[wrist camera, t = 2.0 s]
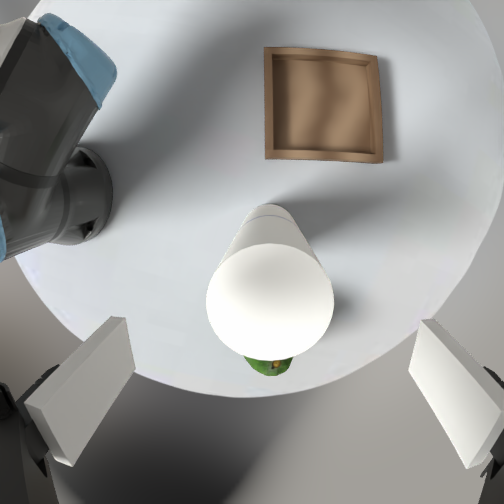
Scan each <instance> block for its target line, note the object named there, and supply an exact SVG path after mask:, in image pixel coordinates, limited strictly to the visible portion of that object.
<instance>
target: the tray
mask: <svg viewBox="0 0 504 504" xmlns="http://www.w3.org/2000/svg"><path fill="white" fill-rule="evenodd" d="M264 88H265V159H286V160H321V161H342V162H358V163H371V164H378V163H383V129H382V108H381V93H380V81H379V70H378V61H377V56H373V55H367V54H360V53H352V52H344V51H335V50H324V49H310V48H288V47H264Z"/></svg>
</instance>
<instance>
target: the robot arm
mask: <svg viewBox="0 0 504 504" xmlns="http://www.w3.org/2000/svg"><path fill="white" fill-rule="evenodd" d="M116 77H117V69H116V66H115V64H114V62H113V61H112V60H111V59H110V57H109V56H108V55H107V54H106V53H105V52H104V51H103V50H101V49H100V48H99V47H98V46H97V45H96V44H95V43H94V42H92V41H91V40H90V39H89V38H88V37H86V36H85V35H84V34H83V33H81V32H80V31H79V30H77V29H76V28H74V27H73V26H70V25H69V24H68V23H67V22H65V21H64V20H62V19H61V18H60V17H58V16H56V15H54V14H51V13H47V14H45V15H43V16H42V17H40V18H39V19H38V20H37V23H35V22H33V21H31V20H29V19H27V18H25V17H22V18H20V19H17V20H14V21H12V22H10V23H7V24H2V25H0V263H1V262H2V261H3V260H6V259H8V258H11V257H13V256H15V255H18V254H20V253H23V252H25V251H27V250H30V249H32V248H35V247H37V246H40V245H43V244H45V243H48V242H49V243H55V244H61V245H77V244H80V243H82V242H85V241H87V240H90V239H91V238H93V237H94V236H95V235H97V234H98V233H99V232H100V230H101V229H102V228H103V226H104V225H105V223H106V221H107V219H108V216H109V214H110V210H111V205H112V183H111V178H110V175H109V172H108V170H107V168H106V166H105V164H104V162H103V161H102V160H101V158H100V157H99V156H98V155H97V154H95V153H94V152H93V151H91V150H89V149H87V148H83V147H76V146H77V144H78V143H79V141H80V139H81V137H82V136H83V134H84V132H85V130H86V129H87V127H88V125H89V124H90V122H91V120H92V119H93V117H94V116H95V114H96V112H97V111H98V110H100V109H101V107H102V102H103V100H104V99H105V97H106V95H107V94H108V92H109V90H110V89H111V87H112V86H113V84H114V82H115V80H116ZM135 369H136V368H135V364H134V359H133V354H132V350H131V345H130V340H129V334H128V329H127V323H126V318H122V317H112V316H111V317H110V318H109V319H108V320H107V321H106V322H105V323H104V324H102V325H101V326H100V327H99V328H98V329H97V330H96V331H95V332H94V333H93V334H92V335H91V336H90V337H89V338H88V339H87V340H86V341H85V342H84V343H83V344H82V345H81V346H79V348H77V349H76V350H75V351H74V352H73V353H72V354H71V355H70V356H69V357H68V358H67V359H66V360H65V361H64V362H63V363H62V364H61V365H59V364H58V365H56V366H54V367H52V368H51V369H49V370H47V371H46V372H45V373H44V374H43V375H42V376H41V378H40V379H38V380H37V381H36V382H35V384H33V385H32V386H31V387H30V388H29V389H28V390H27V391H26V392H25V393H24V394H23V395H22V396H21V397H20V398H19V399H18V400H17V401H16V402H15V400H14V398H13V396H12V394H11V392H10V390H9V388H8V386H7V385H6V384H4V383H1V382H0V504H59V502H58V499H57V495H56V491H55V488H54V484H53V480H52V476H51V471H50V467H49V462H48V460H47V458H46V456H45V455H46V453H47V452H48V450H50V452H51V453H52V455H53V457H54V458H55V460H57V461H59V462H62V463H64V464H66V465H69V466H73V465H74V463H75V462H76V460H77V458H78V457H79V455H80V454H81V452H82V451H83V449H84V447H85V446H86V444H87V442H88V441H89V439H90V438H91V436H92V435H93V433H94V432H95V430H96V428H97V427H98V425H99V424H100V422H101V421H102V419H103V417H104V416H105V414H106V413H107V411H108V410H109V408H110V407H111V405H112V404H113V402H114V400H115V399H116V397H117V396H118V394H119V393H120V391H121V389H122V388H123V386H124V385H125V384H126V382H127V381H128V379H129V378H130V376H131V375H132V373H133V372H134V370H135ZM408 371H409V373H410V374H411V376H412V377H413V379H414V380H415V382H416V384H417V385H418V387H419V388H420V390H421V391H422V393H423V395H424V397H425V398H426V400H427V401H428V403H429V405H430V406H431V408H432V410H433V411H434V413H435V415H436V416H437V418H438V420H439V421H440V423H441V425H442V426H443V428H444V430H445V432H446V433H447V435H448V437H449V439H450V440H451V442H452V444H453V446H454V447H455V449H456V451H457V453H458V455H459V456H460V458H461V460H462V462H463V464H464V465H465V467H466V469H468V468H471V467H473V466H475V465H478V464H480V463H482V462H483V461H484V459H485V458H486V456H487V455H488V454H489V452H491V454H492V455H493V458H492V460H491V461H490V463H489V464H488V465H487V467H486V468H485V470H484V471H483V472H482V474H481V476H480V477H483V476H484V475H485V473H486V472H487V476H486V479H485V483H484V486H483V490H482V493H481V497H480V500H479V503H478V504H504V382H503V381H501V379H500V378H499V377H498V375H497V374H496V373H495V372H493V371H492V370H490V369H488V368H486V367H482V366H481V365H480V364H479V363H478V362H477V361H476V360H475V359H474V358H473V357H472V356H471V355H470V353H468V351H467V350H466V349H465V348H464V347H463V346H461V345H460V344H459V342H458V341H457V340H456V339H455V338H454V337H453V336H451V335H450V333H449V332H447V331H446V330H445V329H444V328H443V327H442V326H441V325H440V324H439V323H438V322H437V321H436V320H435V319H426V320H420V325H419V330H418V334H417V338H416V343H415V347H414V351H413V355H412V358H411V362H410V366H409V369H408Z"/></svg>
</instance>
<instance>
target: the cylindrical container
mask: <svg viewBox="0 0 504 504" xmlns="http://www.w3.org/2000/svg"><path fill="white" fill-rule="evenodd" d="M206 309H207V313H208V318H209V321H210V323H211V325H212V327H213V330H214V331H215V333H216V334H217V335H218V337H219V338H220V339H221V340H222V341H223V342H224V343H225V344H226V345H227V346H228V347H229V348H231V349H233V350H234V351H236V352H237V353H239V354H242V355H244V356H246V357H249V358H253V359H257V360H267V361H273V360H283V359H287V358H290V357H293V356H296V355H298V354H300V353H302V352H304V351H306V350H307V349H309V348H310V347H311V346H313V345H314V344H315V343H316V342H317V341H318V340H319V339H320V338H321V337H322V335H323V334H324V332H325V331H326V329H327V328H328V326H329V323H330V321H331V318H332V314H333V309H334V293H333V289H332V286H331V282H330V280H329V278H328V276H327V274H326V272H325V271H324V269H323V267H322V266H321V264H320V262H319V260H318V259H317V257H316V255H315V254H314V252H313V250H312V249H311V247H310V245H309V244H308V242H307V240H306V239H305V237H304V236H303V234H302V232H301V231H300V229H299V227H298V226H297V224H296V223H295V221H294V219H293V218H292V216H291V215H290V214H289V212H288V211H286V210H285V209H284V208H282V207H280V206H277V205H273V204H266V205H261V206H258V207H256V208H255V209H253V210H252V211H251V212H250V213H249V214H248V215H247V217H246V218H245V220H244V222H243V224H242V225H241V227H240V229H239V231H238V232H237V234H236V236H235V238H234V239H233V241H232V243H231V245H230V246H229V248H228V250H227V252H226V253H225V255H224V257H223V259H222V261H221V262H220V264H219V266H218V268H217V269H216V271H215V273H214V275H213V277H212V279H211V281H210V284H209V287H208V291H207V296H206Z"/></svg>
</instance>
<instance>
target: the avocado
mask: <svg viewBox="0 0 504 504" xmlns="http://www.w3.org/2000/svg"><path fill="white" fill-rule="evenodd" d="M243 356H244V355H243ZM244 357H245V359H246V360H247V362H248V363H249V364H250V365H251V367H252V368H253V369H255V370H256V371H258V372H260V373H262V374H264V375H266V376H277V375H279V374H281V373H284V372H285V371H286V370H287V369H288V368H289V366H290V364H291V361H292V359H293V357H290V358H287V359H283V360H273V361H267V360H257V359H253V358H249V357H246V356H244Z"/></svg>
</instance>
